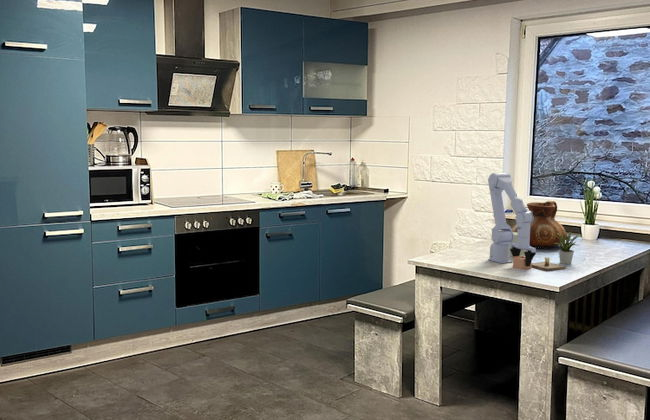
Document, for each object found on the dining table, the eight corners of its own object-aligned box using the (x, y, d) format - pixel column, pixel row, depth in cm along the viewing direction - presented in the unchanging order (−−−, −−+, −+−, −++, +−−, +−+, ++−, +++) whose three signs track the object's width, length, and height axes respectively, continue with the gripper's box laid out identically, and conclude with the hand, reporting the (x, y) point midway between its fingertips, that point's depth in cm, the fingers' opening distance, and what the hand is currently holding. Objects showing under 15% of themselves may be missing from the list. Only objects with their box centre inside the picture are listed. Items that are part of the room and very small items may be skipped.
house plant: (585, 267, 317) (587, 233, 314) (554, 266, 319) (556, 232, 317) (579, 261, 330) (581, 229, 328) (550, 260, 333) (552, 228, 331)
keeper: (528, 266, 318) (528, 256, 317) (546, 263, 324) (546, 254, 323) (547, 271, 307) (547, 261, 307) (565, 268, 313) (566, 259, 312)
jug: (559, 252, 352) (561, 206, 348) (503, 246, 367) (505, 202, 364) (570, 244, 377) (573, 201, 374) (518, 239, 393) (520, 197, 389)
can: (521, 258, 337) (522, 234, 336) (504, 255, 343) (505, 232, 342) (529, 255, 344) (530, 232, 342) (512, 253, 350) (513, 230, 349)
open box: (512, 266, 316) (513, 256, 315) (522, 265, 319) (522, 255, 318) (521, 269, 311) (522, 259, 310) (531, 268, 314) (531, 257, 313)
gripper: (506, 234, 317) (505, 262, 319) (528, 239, 305) (527, 268, 306) (517, 233, 321) (515, 261, 322) (539, 238, 308) (538, 267, 310)
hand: (522, 264), depth 315 cm, fingers open, 7 cm apart
